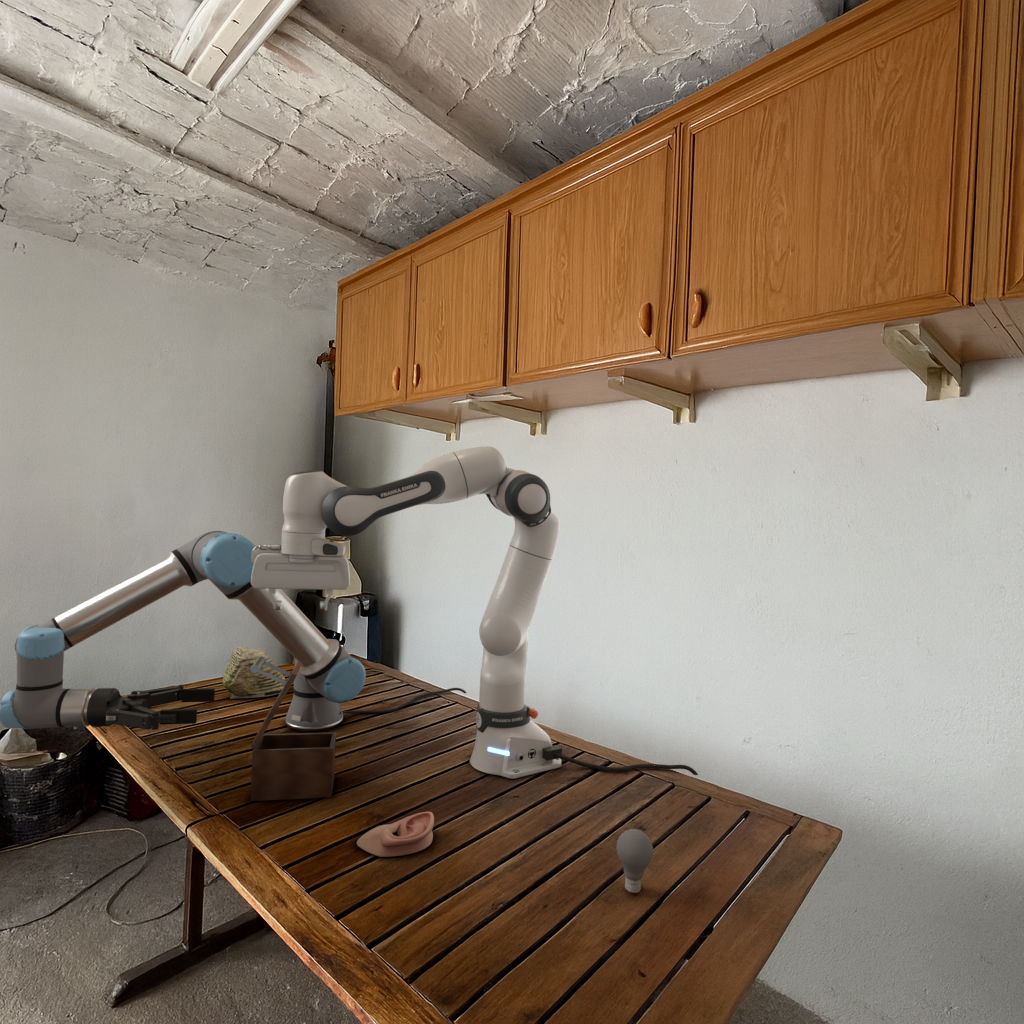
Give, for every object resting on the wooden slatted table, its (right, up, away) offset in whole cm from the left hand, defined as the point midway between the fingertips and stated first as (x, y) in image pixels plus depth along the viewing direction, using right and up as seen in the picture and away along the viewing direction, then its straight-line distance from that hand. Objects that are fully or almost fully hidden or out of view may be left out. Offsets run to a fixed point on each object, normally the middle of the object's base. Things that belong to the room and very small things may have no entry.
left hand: (205, 705), depth 133 cm
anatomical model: (+43, -21, -15) cm, 50 cm away
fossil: (-16, -17, +65) cm, 70 cm away
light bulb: (+84, -23, -27) cm, 91 cm away
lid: (+14, -1, +3) cm, 15 cm away
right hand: (+19, +19, +3) cm, 27 cm away
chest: (+17, -19, +4) cm, 26 cm away
